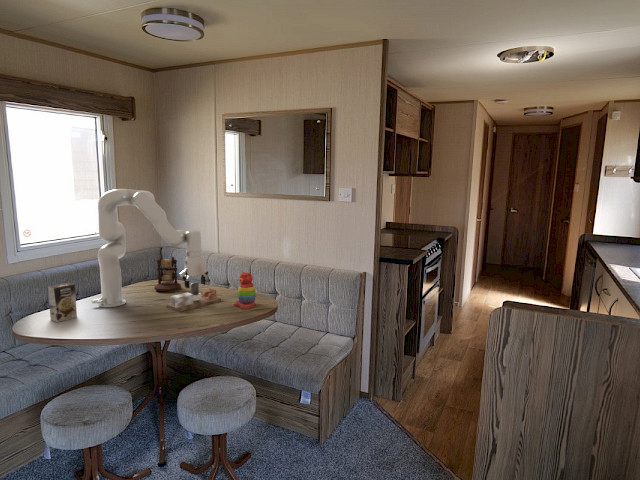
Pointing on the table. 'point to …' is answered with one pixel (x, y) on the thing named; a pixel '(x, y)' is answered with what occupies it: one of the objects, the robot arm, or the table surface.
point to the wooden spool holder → (167, 275)
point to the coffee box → (62, 302)
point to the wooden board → (186, 300)
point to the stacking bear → (246, 292)
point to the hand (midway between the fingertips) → (195, 286)
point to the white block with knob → (195, 291)
